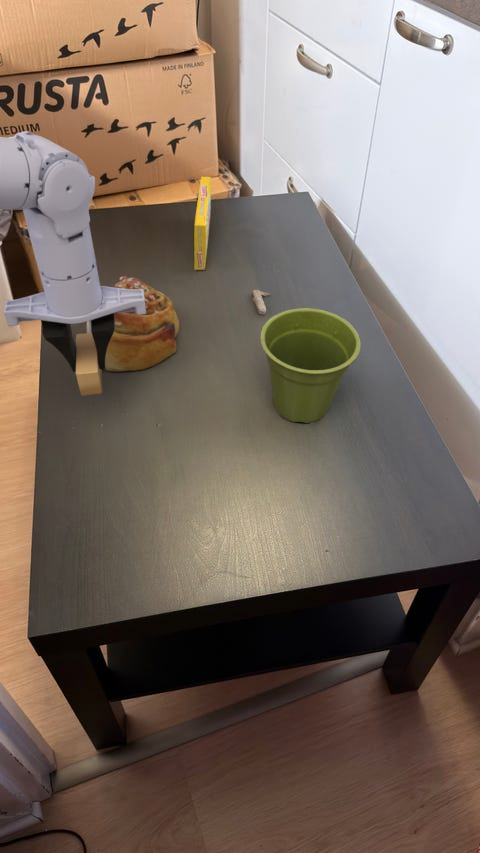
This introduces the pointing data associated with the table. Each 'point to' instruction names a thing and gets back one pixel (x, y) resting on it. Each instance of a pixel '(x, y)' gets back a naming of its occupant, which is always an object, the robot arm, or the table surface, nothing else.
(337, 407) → the table surface
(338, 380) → the plant pot
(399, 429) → the table surface
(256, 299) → the ginger root
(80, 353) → the cake knife
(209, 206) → the candy box
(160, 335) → the pastry
